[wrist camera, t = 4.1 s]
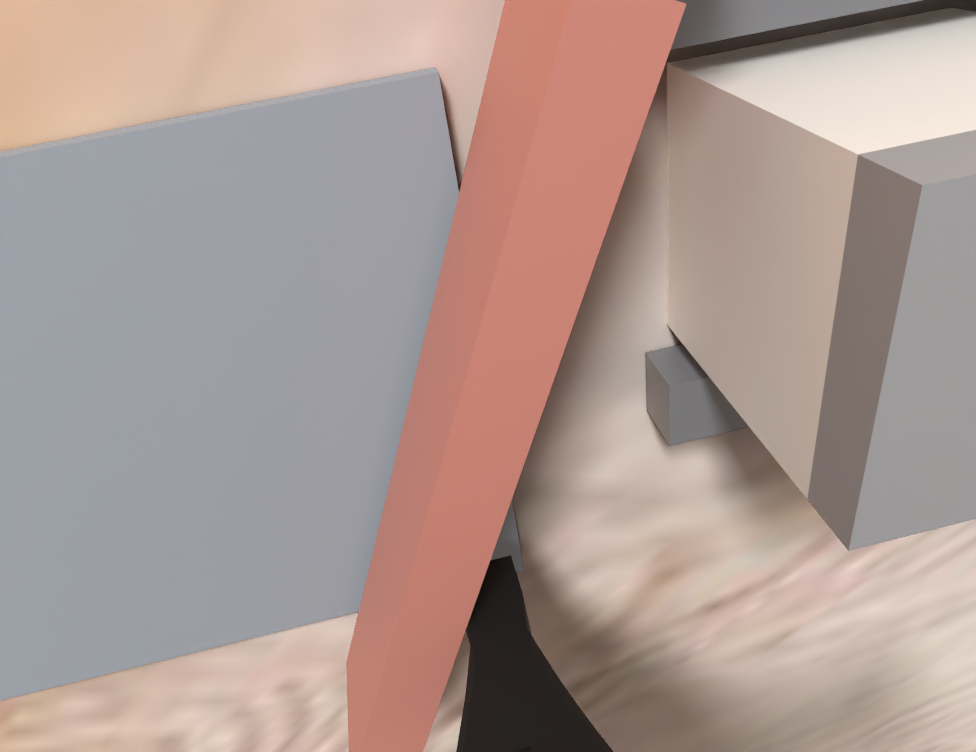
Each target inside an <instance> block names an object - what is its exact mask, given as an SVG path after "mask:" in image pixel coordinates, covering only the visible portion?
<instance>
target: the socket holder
mask: <svg viewBox="0 0 976 752" xmlns="http://www.w3.org/2000/svg"><path fill="white" fill-rule="evenodd" d="M676 1H679V2H683V3H686V7H685V10H684V13H683V15H682V18H681V21H680V24H679V27H678V30H677V32H676V35H675V38H674V41H673V44H672V47H671V50H673V49H678V48H683V47H688V46H693V45H698V44H703V43H708V42H713V41H718V40H723V39H729V38H734V37H739V36H744V35H749V34H754V33H759V32H764V31H769V30H774V29H779V28H785V27H790V26H795V25H800V24H805V23H810V22H815V21H820V20H825V19H830V18H835V17H840V16H846V15H851V14H856V13H861V12H866V11H871V10H876V9H881V8H886V7H891V6H896V5H902V4H907V3H912V2H917V1H922V0H676ZM646 392H647V411H648V413H649V414H650V416H651V418H652V419H653V421H654V422H655V424H656V426H657V427H658V429H659V430H660V432H661V434H662V435H663V437H664V438H665V440H666V442H667V443H668V445H669V446H672V445H676V444H681V443H685V442H689V441H693V440H697V439H702V438H706V437H710V436H714V435H718V434H723V433H727V432H731V431H735V430H739V429H744V428H748V427H749V426H748V425H747V423H746V422H745V421H744V420H743V419H742V417H741V416H740V415H739V414H738V412H737V411H736V410H735V409H734V407H733V406H732V405H731V404H730V402H729V401H728V400H727V399H726V397H725V396H724V395H723V394H722V392H721V391H720V390H719V389H718V387H717V386H716V385H715V384H714V382H713V381H712V380H711V379H710V377H709V376H708V375H707V374H706V372H705V371H704V370H703V369H702V367H701V366H700V365H699V364H698V362H697V361H696V360H695V359H694V357H693V356H692V355H691V354H690V352H689V351H688V350H687V349H686V347H685V346H684V345H683V344H681V345H677V346H673V347H668V348H664V349H659V350H655V351H651V352H646Z"/></svg>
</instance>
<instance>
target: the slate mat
mask: <svg viewBox="0 0 976 752" xmlns="http://www.w3.org/2000/svg"><path fill="white" fill-rule="evenodd" d="M458 195H459V189H458V183H457V177H456V172H455V166H454V160H453V154H452V148H451V143H450V137H449V131H448V125H447V119H446V113H445V108H444V102H443V96H442V90H441V84H440V79H439V73H438V71H437V69H436V68H430V69H425V70H419V71H414V72H409V73H404V74H399V75H394V76H388V77H383V78H378V79H373V80H368V81H363V82H357V83H352V84H347V85H342V86H337V87H332V88H326V89H321V90H316V91H311V92H306V93H301V94H295V95H290V96H285V97H280V98H275V99H270V100H264V101H259V102H254V103H249V104H244V105H239V106H233V107H228V108H223V109H218V110H213V111H208V112H202V113H197V114H192V115H187V116H182V117H177V118H171V119H166V120H161V121H156V122H151V123H146V124H140V125H135V126H130V127H125V128H120V129H115V130H109V131H104V132H99V133H94V134H89V135H84V136H78V137H73V138H68V139H63V140H58V141H53V142H47V143H42V144H37V145H32V146H27V147H22V148H16V149H11V150H6V151H1V152H0V700H4V699H8V698H12V697H17V696H21V695H25V694H29V693H33V692H37V691H41V690H45V689H49V688H53V687H57V686H61V685H65V684H69V683H73V682H77V681H81V680H85V679H89V678H93V677H97V676H101V675H105V674H110V673H114V672H118V671H122V670H126V669H130V668H134V667H138V666H142V665H146V664H150V663H154V662H158V661H162V660H166V659H170V658H174V657H178V656H182V655H186V654H190V653H194V652H198V651H202V650H207V649H211V648H215V647H219V646H223V645H227V644H231V643H235V642H239V641H243V640H247V639H251V638H255V637H259V636H263V635H267V634H271V633H275V632H279V631H283V630H287V629H291V628H295V627H300V626H304V625H308V624H312V623H316V622H320V621H324V620H328V619H332V618H336V617H340V616H344V615H348V614H352V613H356V612H359V608H360V604H361V600H362V596H363V592H364V587H365V583H366V579H367V575H368V571H369V567H370V562H371V558H372V554H373V550H374V546H375V542H376V537H377V533H378V529H379V525H380V521H381V517H382V512H383V508H384V504H385V500H386V496H387V492H388V487H389V483H390V479H391V475H392V471H393V467H394V462H395V458H396V454H397V450H398V446H399V442H400V437H401V433H402V429H403V425H404V421H405V416H406V412H407V408H408V404H409V400H410V396H411V391H412V387H413V383H414V379H415V375H416V371H417V366H418V362H419V358H420V354H421V350H422V346H423V341H424V337H425V333H426V329H427V325H428V321H429V316H430V312H431V308H432V304H433V300H434V296H435V291H436V287H437V283H438V279H439V275H440V271H441V266H442V262H443V258H444V254H445V250H446V245H447V241H448V237H449V233H450V229H451V225H452V220H453V216H454V212H455V208H456V204H457V200H458ZM509 555H511V557H512V560H513V564H514V567H515V570H516V573H518V572H522V571H524V567H523V561H522V556H521V550H520V544H519V538H518V532H517V526H516V521H515V515H514V509H513V503H512V500H511V503H510V506H509V509H508V512H507V514H506V517H505V520H504V523H503V526H502V529H501V532H500V534H499V537H498V540H497V543H496V546H495V549H494V551H493V554H492V557H491V560H494V559H498V558H502V557H506V556H509Z"/></svg>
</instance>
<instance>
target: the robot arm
mask: <svg viewBox="0 0 976 752" xmlns="http://www.w3.org/2000/svg"><path fill="white" fill-rule="evenodd" d="M466 632H467V635H468V638H469V642H470V645H471V646H470V657H469V667H468V677H467V687H466V695H465V702H464V708H463V715H462V721H461V727H460V733H459V740H458V746H457V752H613V751H612V749H611V748H610V747H609V746H608V744H607V743H606V742H605V741H604V739H603V738H602V737H601V736H600V734H599V733H598V732H597V730H596V729H595V728H594V726H593V725H592V724H591V722H590V721H589V720H588V718H587V717H586V716H585V714H584V713H583V712H582V710H581V709H580V708H579V706H578V705H577V703H576V702H575V701H574V699H573V698H572V697H571V695H570V694H569V692H568V691H567V689H566V688H565V687H564V685H563V684H562V682H561V681H560V679H559V678H558V676H557V675H556V673H555V672H554V670H553V669H552V667H551V666H550V664H549V662H548V661H547V659H546V658H545V656H544V655H543V653H542V652H541V650H540V648H539V647H538V645H537V644H536V642H535V640H534V639H533V637H532V635H531V631H530V626H529V621H528V617H527V612H526V608H525V603H524V599H523V594H522V591H521V587H520V584H519V580H518V577H517V574H516V570H515V567H514V564H513V560H512V557H511V555H509V556H506V557H502V558H498V559H494V560H490V563H489V566H488V568H487V571H486V574H485V577H484V580H483V583H482V585H481V588H480V591H479V594H478V597H477V600H476V602H475V605H474V608H473V611H472V614H471V617H470V619H469V622H468V625H467V628H466Z"/></svg>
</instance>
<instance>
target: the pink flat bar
mask: <svg viewBox="0 0 976 752" xmlns="http://www.w3.org/2000/svg"><path fill="white" fill-rule="evenodd" d="M685 7H686V3H683V2H679V1H676V0H505V4H504V8H503V12H502V16H501V20H500V24H499V29H498V33H497V37H496V41H495V45H494V49H493V54H492V58H491V62H490V66H489V70H488V75H487V79H486V83H485V87H484V91H483V95H482V100H481V104H480V108H479V112H478V116H477V120H476V125H475V129H474V133H473V137H472V141H471V145H470V150H469V154H468V158H467V162H466V166H465V170H464V175H463V179H462V183H461V187H460V191H459V195H458V200H457V204H456V208H455V212H454V216H453V220H452V225H451V229H450V233H449V237H448V241H447V245H446V250H445V254H444V258H443V262H442V266H441V271H440V275H439V279H438V283H437V287H436V291H435V296H434V300H433V304H432V308H431V312H430V316H429V321H428V325H427V329H426V333H425V337H424V341H423V346H422V350H421V354H420V358H419V362H418V366H417V371H416V375H415V379H414V383H413V387H412V391H411V396H410V400H409V404H408V408H407V412H406V416H405V421H404V425H403V429H402V433H401V437H400V442H399V446H398V450H397V454H396V458H395V462H394V467H393V471H392V475H391V479H390V483H389V487H388V492H387V496H386V500H385V504H384V508H383V512H382V517H381V521H380V525H379V529H378V533H377V537H376V542H375V546H374V550H373V554H372V558H371V562H370V567H369V571H368V575H367V579H366V583H365V587H364V592H363V596H362V600H361V604H360V608H359V612H358V617H357V621H356V625H355V629H354V633H353V638H352V642H351V646H350V650H349V654H348V658H347V697H348V733H349V752H423V750H424V747H425V744H426V741H427V738H428V736H429V733H430V730H431V727H432V724H433V721H434V719H435V716H436V713H437V710H438V707H439V704H440V702H441V699H442V696H443V693H444V690H445V687H446V685H447V682H448V679H449V676H450V673H451V670H452V668H453V665H454V662H455V659H456V656H457V653H458V651H459V648H460V645H461V642H462V639H463V636H464V634H465V631H466V628H467V625H468V622H469V619H470V617H471V614H472V611H473V608H474V605H475V602H476V600H477V597H478V594H479V591H480V588H481V585H482V583H483V580H484V577H485V574H486V571H487V568H488V566H489V563H490V560H491V557H492V554H493V551H494V549H495V546H496V543H497V540H498V537H499V534H500V532H501V529H502V526H503V523H504V520H505V517H506V514H507V512H508V509H509V506H510V503H511V500H512V497H513V495H514V492H515V489H516V486H517V483H518V480H519V478H520V475H521V472H522V469H523V466H524V463H525V461H526V458H527V455H528V452H529V449H530V446H531V444H532V441H533V438H534V435H535V432H536V429H537V427H538V424H539V421H540V418H541V415H542V412H543V410H544V407H545V404H546V401H547V398H548V395H549V393H550V390H551V387H552V384H553V381H554V378H555V376H556V373H557V370H558V367H559V364H560V361H561V359H562V356H563V353H564V350H565V347H566V344H567V342H568V339H569V336H570V333H571V330H572V327H573V325H574V322H575V319H576V316H577V313H578V310H579V308H580V305H581V302H582V299H583V296H584V293H585V291H586V288H587V285H588V282H589V279H590V276H591V273H592V271H593V268H594V265H595V262H596V259H597V256H598V254H599V251H600V248H601V245H602V242H603V239H604V237H605V234H606V231H607V228H608V225H609V222H610V220H611V217H612V214H613V211H614V208H615V205H616V203H617V200H618V197H619V194H620V191H621V188H622V186H623V183H624V180H625V177H626V174H627V171H628V169H629V166H630V163H631V160H632V157H633V154H634V152H635V149H636V146H637V143H638V140H639V137H640V135H641V132H642V129H643V126H644V123H645V120H646V118H647V115H648V112H649V109H650V106H651V103H652V101H653V98H654V95H655V92H656V89H657V86H658V84H659V81H660V78H661V75H662V72H663V69H664V67H665V64H666V61H667V58H668V55H669V52H670V50H671V47H672V44H673V41H674V38H675V35H676V32H677V30H678V27H679V24H680V21H681V18H682V15H683V13H684V10H685Z"/></svg>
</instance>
